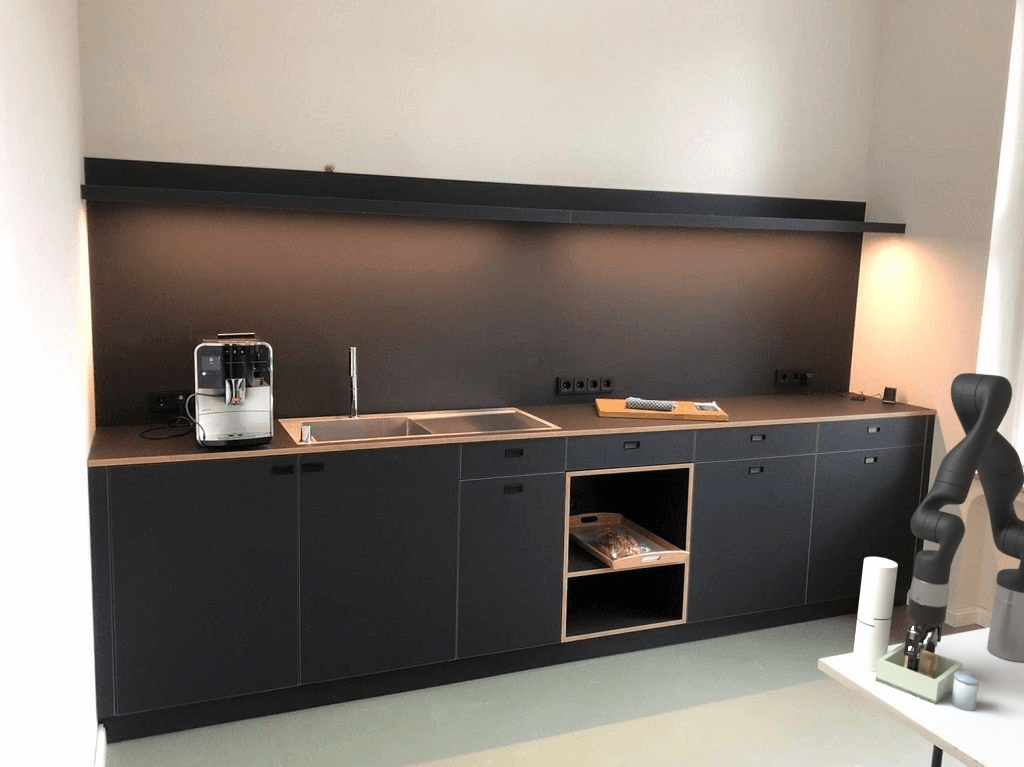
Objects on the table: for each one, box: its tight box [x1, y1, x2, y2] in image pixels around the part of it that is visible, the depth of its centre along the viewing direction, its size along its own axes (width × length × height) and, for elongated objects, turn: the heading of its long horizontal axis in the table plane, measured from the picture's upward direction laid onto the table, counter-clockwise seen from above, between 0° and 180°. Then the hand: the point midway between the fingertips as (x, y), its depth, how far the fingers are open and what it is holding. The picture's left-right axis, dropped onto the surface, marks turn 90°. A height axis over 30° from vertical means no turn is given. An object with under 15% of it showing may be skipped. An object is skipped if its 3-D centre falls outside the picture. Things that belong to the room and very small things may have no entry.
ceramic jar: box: [950, 670, 981, 712], centre depth 181 cm, size 5×5×7 cm
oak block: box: [904, 648, 939, 679], centre depth 191 cm, size 5×5×6 cm
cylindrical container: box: [852, 556, 898, 673], centre depth 197 cm, size 7×7×25 cm
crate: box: [875, 642, 964, 705], centre depth 191 cm, size 14×13×5 cm
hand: (920, 667), depth 191 cm, fingers open, 8 cm apart
